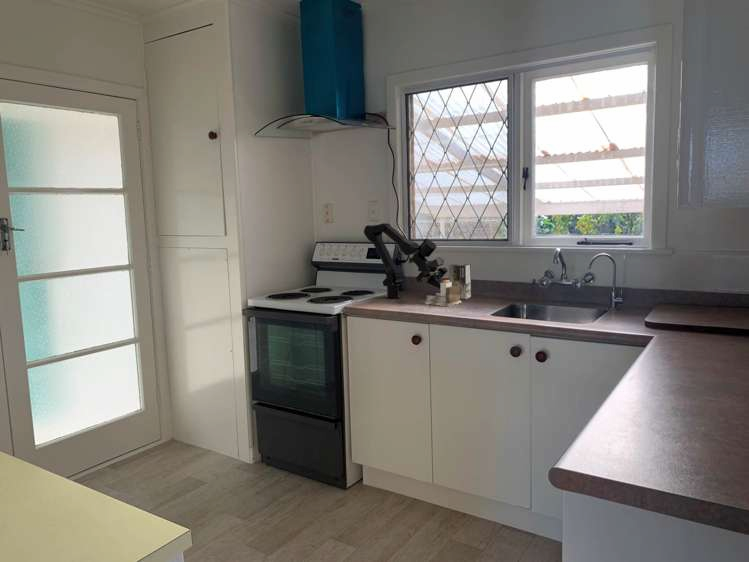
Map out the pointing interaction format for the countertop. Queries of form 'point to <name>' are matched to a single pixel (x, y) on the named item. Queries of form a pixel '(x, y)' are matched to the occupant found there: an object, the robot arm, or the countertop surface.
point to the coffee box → (461, 278)
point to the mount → (450, 298)
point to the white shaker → (443, 287)
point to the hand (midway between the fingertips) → (442, 288)
